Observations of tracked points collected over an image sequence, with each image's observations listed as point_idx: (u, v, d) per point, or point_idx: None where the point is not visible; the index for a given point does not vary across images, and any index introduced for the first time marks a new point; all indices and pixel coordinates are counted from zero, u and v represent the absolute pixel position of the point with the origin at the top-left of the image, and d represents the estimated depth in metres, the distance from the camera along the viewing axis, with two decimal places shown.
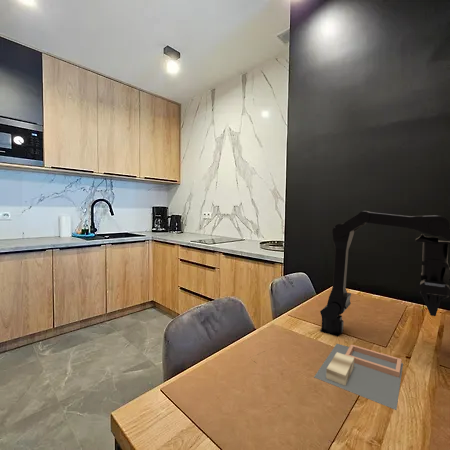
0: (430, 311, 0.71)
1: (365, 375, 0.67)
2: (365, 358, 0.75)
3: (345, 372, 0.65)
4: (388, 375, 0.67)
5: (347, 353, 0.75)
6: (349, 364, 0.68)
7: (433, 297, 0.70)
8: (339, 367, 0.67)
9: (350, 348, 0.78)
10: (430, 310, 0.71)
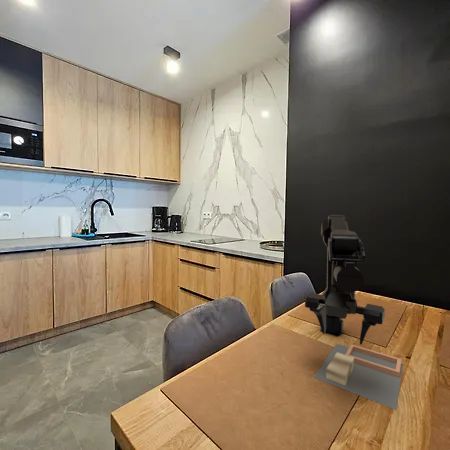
0: None
1: (365, 375, 0.67)
2: (365, 358, 0.75)
3: (345, 372, 0.65)
4: (388, 375, 0.67)
5: (347, 353, 0.75)
6: (349, 364, 0.68)
7: None
8: (339, 367, 0.67)
9: (350, 348, 0.78)
10: None
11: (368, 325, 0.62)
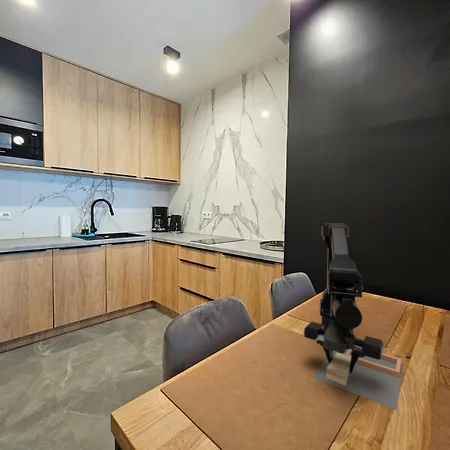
0: None
1: (365, 375, 0.67)
2: (365, 358, 0.75)
3: (345, 372, 0.65)
4: (388, 375, 0.67)
5: (347, 353, 0.75)
6: (349, 364, 0.68)
7: None
8: (339, 367, 0.67)
9: None
10: None
11: (357, 356, 0.64)
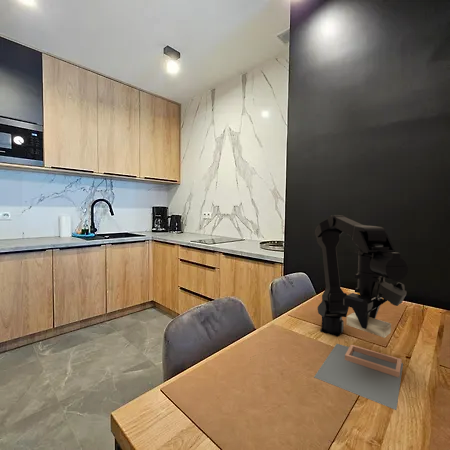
0: (361, 323, 0.71)
1: (365, 375, 0.67)
2: (365, 358, 0.75)
3: (385, 322, 0.71)
4: (388, 375, 0.67)
5: (347, 353, 0.75)
6: None
7: None
8: (377, 322, 0.70)
9: (350, 348, 0.78)
10: (361, 322, 0.71)
11: None
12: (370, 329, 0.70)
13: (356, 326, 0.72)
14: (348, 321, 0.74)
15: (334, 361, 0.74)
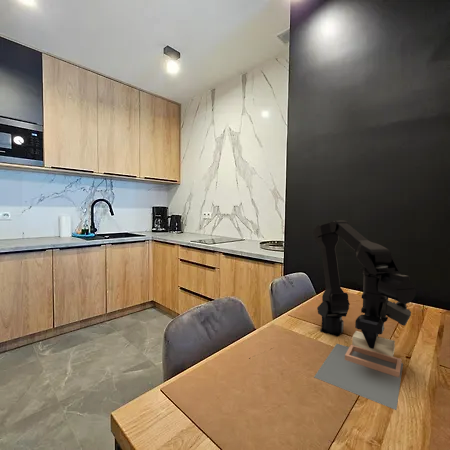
0: (368, 343, 0.71)
1: (365, 375, 0.67)
2: (365, 358, 0.75)
3: (389, 339, 0.73)
4: (388, 375, 0.67)
5: (347, 353, 0.75)
6: None
7: None
8: (383, 340, 0.72)
9: (350, 348, 0.78)
10: (368, 342, 0.71)
11: None
12: (378, 349, 0.71)
13: (363, 346, 0.73)
14: (354, 341, 0.74)
15: (334, 361, 0.74)
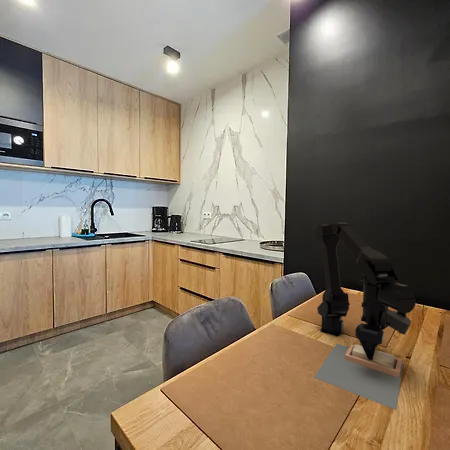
0: (367, 355, 0.70)
1: (365, 375, 0.67)
2: None
3: (388, 354, 0.73)
4: (388, 375, 0.67)
5: (347, 353, 0.75)
6: None
7: (369, 341, 0.69)
8: (382, 355, 0.72)
9: (350, 348, 0.78)
10: (367, 354, 0.70)
11: None
12: (377, 363, 0.71)
13: None
14: (354, 355, 0.75)
15: (334, 361, 0.74)
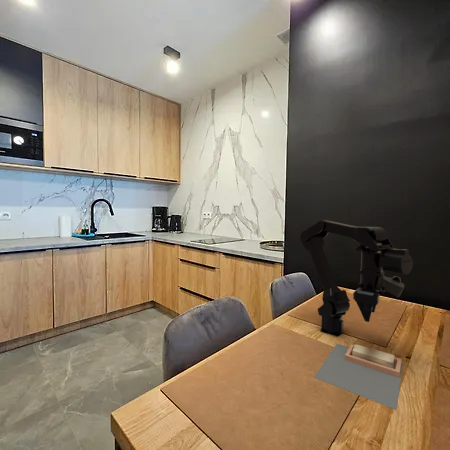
0: (364, 317, 0.76)
1: (365, 375, 0.67)
2: None
3: (388, 354, 0.73)
4: (388, 375, 0.67)
5: (347, 353, 0.75)
6: (371, 349, 0.76)
7: (366, 304, 0.75)
8: (382, 355, 0.72)
9: (350, 348, 0.78)
10: (364, 316, 0.76)
11: (382, 293, 0.83)
12: (377, 363, 0.71)
13: None
14: (354, 355, 0.75)
15: (334, 361, 0.74)
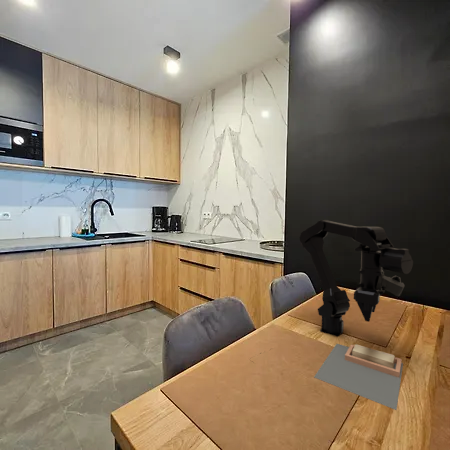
0: (365, 317, 0.76)
1: (365, 375, 0.67)
2: None
3: (388, 354, 0.73)
4: (388, 375, 0.67)
5: (347, 353, 0.75)
6: (371, 349, 0.76)
7: (366, 304, 0.75)
8: (382, 355, 0.72)
9: (350, 348, 0.78)
10: (364, 316, 0.76)
11: None
12: (377, 363, 0.71)
13: None
14: (354, 355, 0.75)
15: (334, 361, 0.74)
